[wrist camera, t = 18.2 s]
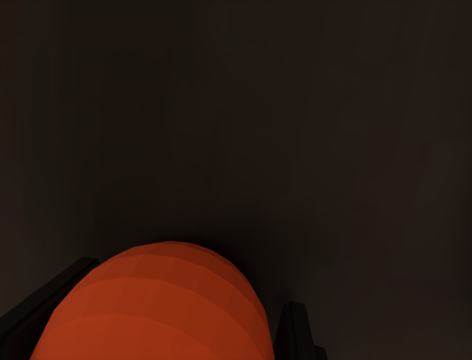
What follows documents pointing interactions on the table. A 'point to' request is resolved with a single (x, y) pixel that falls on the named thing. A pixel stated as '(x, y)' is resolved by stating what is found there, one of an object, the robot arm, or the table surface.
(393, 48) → the table surface
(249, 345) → the clementine
